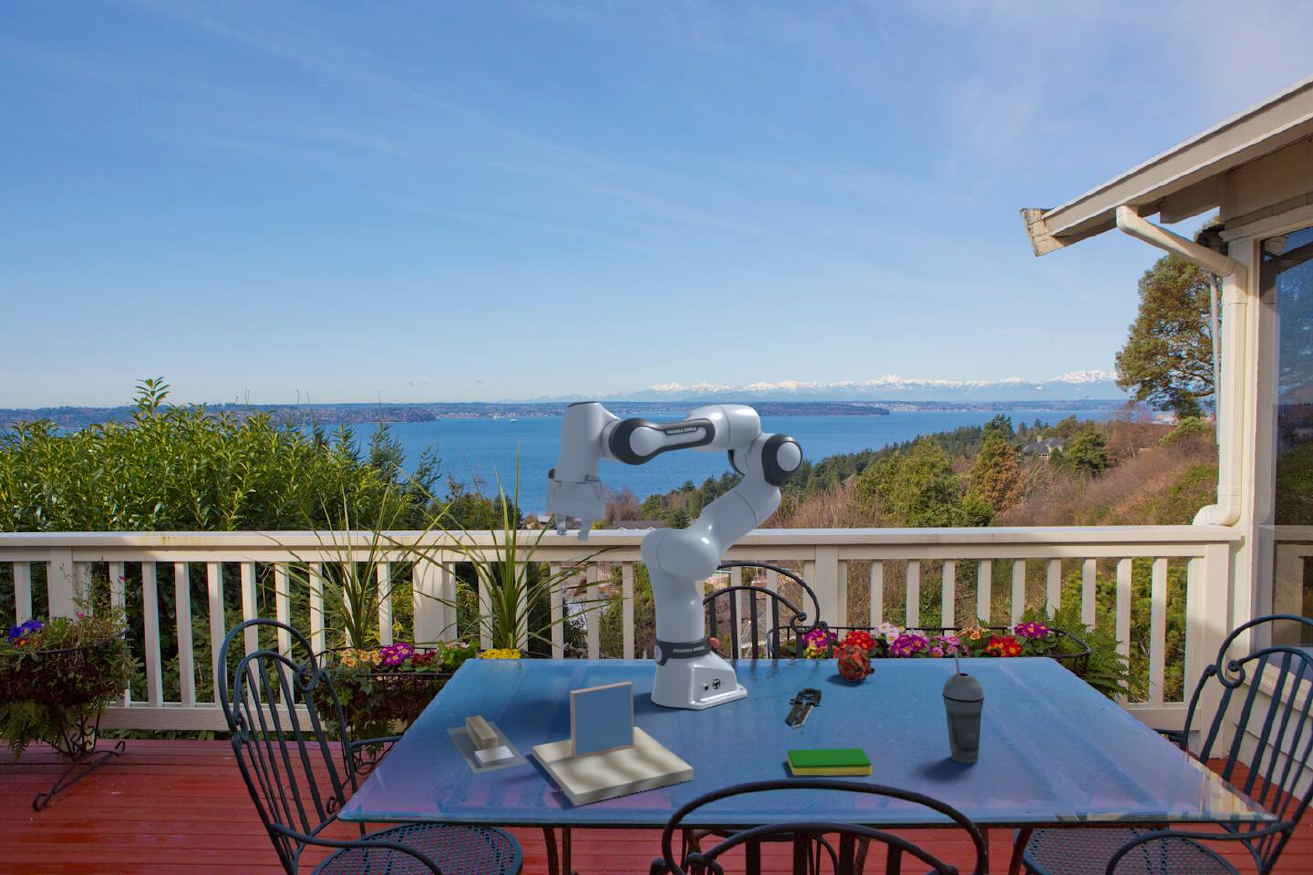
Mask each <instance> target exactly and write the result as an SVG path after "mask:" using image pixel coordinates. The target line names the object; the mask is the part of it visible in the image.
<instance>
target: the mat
mask: <svg viewBox="0 0 1313 875" xmlns="http://www.w3.org/2000/svg"><path fill="white" fill-rule="evenodd" d="M485 722H486V723H487V724H488V725H489V726H490V728H491V729H492V730H493V731H494V733H495V734H496V735H497V736H498V747H502V746H506V747H507V748H508V749H509V750H510V752H511V753H512V754H513V755H514V760H515V762H511V763H506V764H501V765H496V766H490V767H485V768H482V767H481V765H480V764H479V762H478V761H477V759H476V758H475V752H476V751H479V749H478V748H477V747H476V745H475V744H474V742H473V741H472V740H471V738H470V737H469V735H468V734H467V733H466V725H464V726H457V727H451V728H446V729H445V731H446V733H447V735H448V737H449V738H450V739H451V741H452V742H453V744H454V746H455V747H456V749H457V750H458V751H459V753H460V754H461V756H462V758H463V759H464V761H465V762H466V764H467V766H468V768H470V770H471V772H472V773H473V775H478V774H485V773H488V772H493V771H498V770H503V769H504V770H505V769H508V768H513V767H518V766H523V765H528V764H529V763H528V761H527V760H526V759H525V758H524V757H523V755H522V754H521V753H520V752H519V751H518V750H517V748H516V747H515V746H514V745H513V743H512V742H511V741H510V740H509V739H508V738H507V736H506V735H505V734H504V733H503V732H502V730H501V729H500V728H499V727H498V726H497V725H496V723H495V722H494V721H493V720H491V721H485Z"/></svg>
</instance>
